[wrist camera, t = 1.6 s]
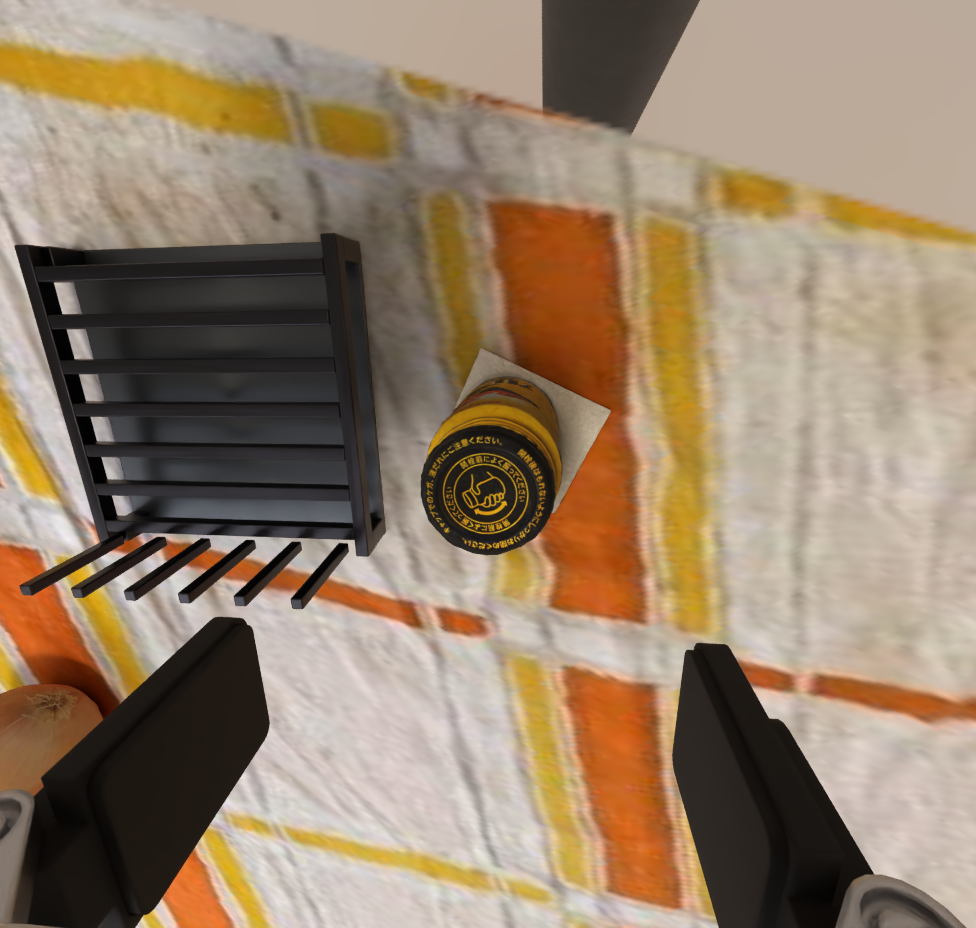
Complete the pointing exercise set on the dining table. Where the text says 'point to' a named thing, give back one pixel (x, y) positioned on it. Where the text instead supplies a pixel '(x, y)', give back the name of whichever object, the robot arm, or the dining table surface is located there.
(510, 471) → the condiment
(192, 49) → the dining table surface
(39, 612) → the dining table surface
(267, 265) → the dish rack
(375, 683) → the dining table surface
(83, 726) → the onion
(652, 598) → the dining table surface
